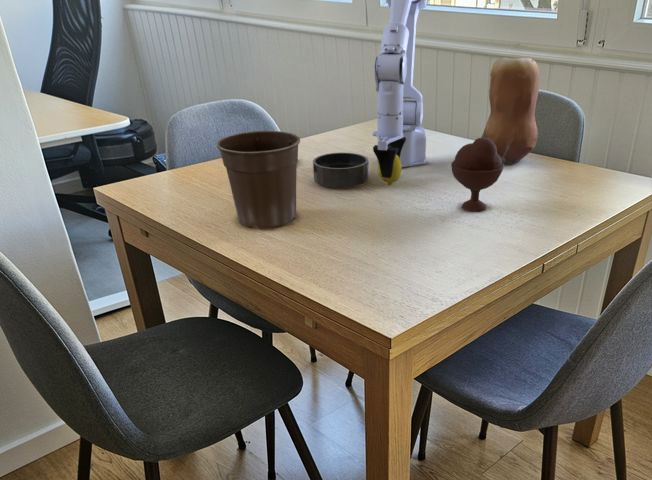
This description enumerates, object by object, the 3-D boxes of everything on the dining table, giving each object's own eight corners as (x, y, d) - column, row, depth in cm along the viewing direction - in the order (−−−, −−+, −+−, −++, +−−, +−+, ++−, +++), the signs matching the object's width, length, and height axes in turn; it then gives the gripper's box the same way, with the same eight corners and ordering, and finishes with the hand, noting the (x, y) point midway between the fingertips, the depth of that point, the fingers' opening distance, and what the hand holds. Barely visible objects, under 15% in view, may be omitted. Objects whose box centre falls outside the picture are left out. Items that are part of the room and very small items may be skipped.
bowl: (354, 169, 158) (353, 149, 155) (378, 184, 148) (377, 163, 145) (305, 177, 153) (304, 157, 150) (327, 193, 143) (326, 172, 140)
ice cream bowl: (502, 201, 137) (510, 131, 129) (494, 219, 129) (501, 146, 120) (455, 196, 140) (460, 128, 132) (444, 213, 131) (448, 141, 123)
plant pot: (214, 216, 131) (202, 138, 123) (280, 199, 140) (273, 125, 131) (251, 240, 121) (240, 157, 112) (320, 220, 129) (315, 141, 120)
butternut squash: (500, 151, 170) (511, 51, 157) (543, 160, 163) (558, 56, 149) (470, 162, 162) (478, 57, 148) (514, 172, 154) (527, 63, 141)
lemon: (376, 181, 150) (376, 147, 145) (399, 180, 150) (400, 147, 146) (379, 189, 145) (379, 154, 141) (402, 188, 145) (403, 153, 141)
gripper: (381, 105, 145) (381, 162, 153) (364, 119, 134) (365, 181, 141) (410, 106, 144) (409, 164, 151) (396, 121, 132) (395, 183, 140)
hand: (389, 173), depth 146 cm, fingers closed on lemon, 5 cm apart
